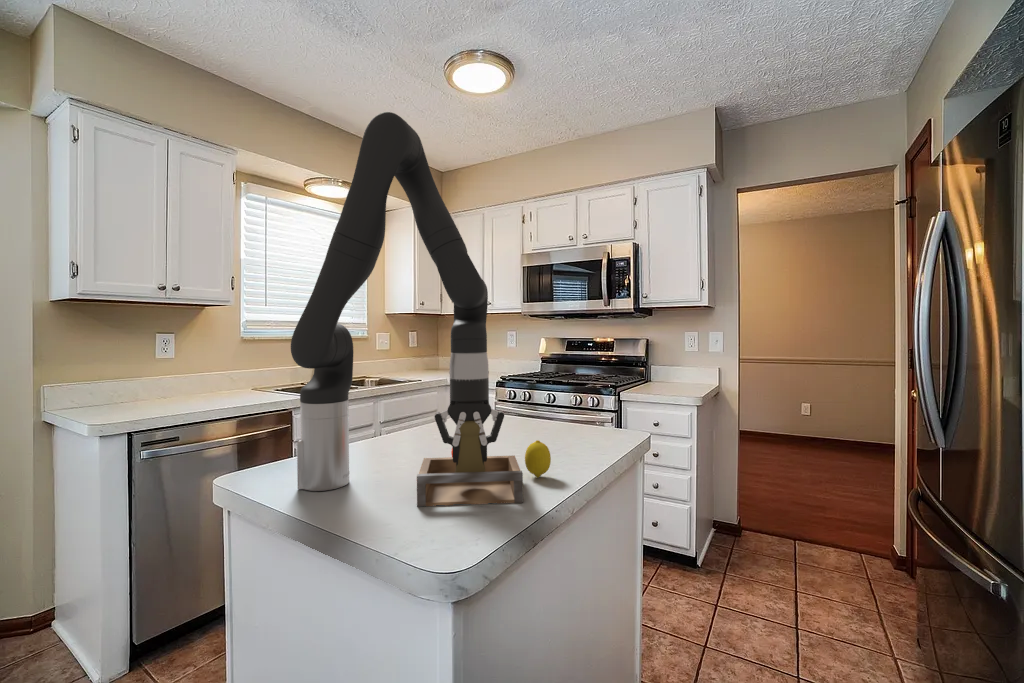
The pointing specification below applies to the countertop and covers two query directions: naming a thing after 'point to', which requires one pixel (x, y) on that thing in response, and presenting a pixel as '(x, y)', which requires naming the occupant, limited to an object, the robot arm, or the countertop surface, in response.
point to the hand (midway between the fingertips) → (470, 463)
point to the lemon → (537, 458)
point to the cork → (470, 449)
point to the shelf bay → (469, 482)
